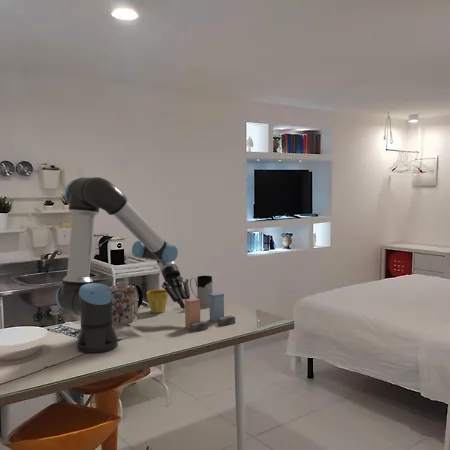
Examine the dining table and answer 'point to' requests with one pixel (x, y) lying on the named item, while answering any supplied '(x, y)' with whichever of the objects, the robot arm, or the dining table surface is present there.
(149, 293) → the plant pot
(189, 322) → the salmon pink lidded box
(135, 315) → the decorative jar
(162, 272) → the robot arm
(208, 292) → the grey metal pitcher
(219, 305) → the light blue tall block
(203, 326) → the dark grey block pair
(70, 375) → the dining table surface
